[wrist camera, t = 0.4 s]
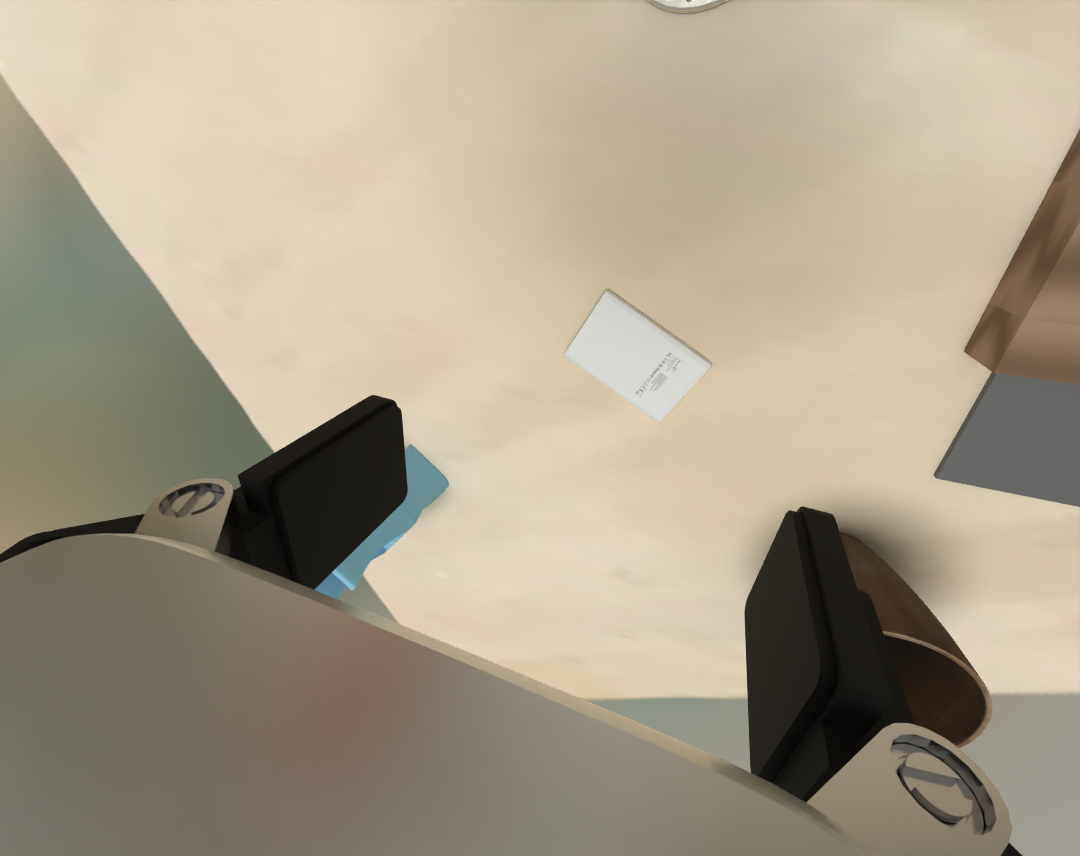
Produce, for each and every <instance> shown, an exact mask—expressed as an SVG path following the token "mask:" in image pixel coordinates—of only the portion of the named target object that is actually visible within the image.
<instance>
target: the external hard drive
mask: <svg viewBox="0 0 1080 856" xmlns="http://www.w3.org/2000/svg"><path fill="white" fill-rule="evenodd" d="M564 356H565V357H567V358H568V359H569V360H571V361H572V362H574V363H575V364H576V365H578V366H579V367H581V368H582V369H584V370H585V371H586V372H588V373H589V374H591V375H592V376H593V377H595V378H596V379H598V380H599V381H600V382H602V383H603V384H605V385H606V386H607V387H609V388H610V389H612V390H613V391H614V392H616V393H617V394H619V395H620V396H621V397H623V398H624V399H626V400H627V401H629V402H630V403H631V404H633V405H634V406H636V407H637V408H638V409H640V410H641V411H643V412H644V413H645V414H647V415H648V416H650V417H651V418H652V419H654V420H655V421H657V422H658V423H660V422H661V421H662V420H663V419H664V418H665V416H666V415H667V414H668V413H669V412H670V411H671V410H672V409H673V408H674V407H675V405H676V404H677V403H678V402H679V401H680V400H681V399H682V398H683V397H684V396H685V394H686V393H687V392H688V391H689V390H690V389H691V388H692V387H693V386H694V385H695V384H696V382H697V381H698V380H699V379H700V378H701V377H702V376H703V375H704V374H705V373H706V372H707V370H708V369H709V368H710V367H711V362H710V361H709V360H707V359H706V358H704V357H703V356H701V355H700V354H699V353H697V352H696V351H695V350H693V349H692V348H690V347H689V346H688V345H686V344H685V343H683V342H682V341H681V340H679V339H678V338H676V337H675V336H674V335H672V334H671V333H669V332H668V331H667V330H665V329H664V328H662V327H661V326H659V325H658V324H657V323H655V322H654V321H652V320H651V319H650V318H648V317H647V316H645V315H644V314H643V313H641V312H640V311H638V310H637V309H636V308H634V307H633V306H631V305H630V304H628V303H627V302H626V301H624V300H623V299H621V298H620V297H619V296H617V295H616V294H614V293H613V292H611V291H610V290H609V289H607V290H606V291H605V293H604V294H603V296H602V297H601V299H600V300H599V302H598V303H597V305H596V306H595V308H594V309H593V311H592V312H591V314H590V316H589V317H588V319H587V320H586V322H585V323H584V325H583V326H582V328H581V329H580V331H579V332H578V334H577V335H576V337H575V338H574V340H573V341H572V343H571V344H570V346H569V348H568V349H567V351H566V352H565V354H564Z"/></svg>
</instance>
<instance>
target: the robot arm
mask: <svg viewBox="0 0 1080 856" xmlns="http://www.w3.org/2000/svg"><path fill="white" fill-rule="evenodd" d="M646 1H648V2H650V3H651V4H653V5H655V6H656V7H658V8H660V9H663V10H667V11H670V12H674V13H695V12H699V11H704V10H708V9H711V8H713V7H715V6H718V5H720V4H722V3H724V2H726V1H728V0H692V1H691V2H687V1H686V0H646ZM238 478H239V481H240V484H241V487H239V488H237V489H236V490H234V489H233V487H232V486H231V484H230V483H228V482H226V481H224V480H220V479H213V478H211V479H198V480H193V481H189V482H185V483H182V484H179V485H176V486H174V487H172V488H170V489H168V490H166V491H165V492H163V493H162V494H160V495H159V496H158V497H156V498H155V499H154V501H153V502H152V503H151V504H150V506H149V508H148V510H147V511H146V513H145V514H142V515H136V516H131V517H125V518H119V519H114V520H108V521H103V522H97V523H91V524H86V525H80V526H75V527H69V528H64V529H58V530H54V531H48V532H42V533H38V534H34V535H32V536H29V537H27V538H25V539H23V540H21V541H19V542H18V543H16V544H15V545H14V546H12V547H10V548H9V549H8V550H6V551H4V552H3V553H2V554H0V856H1022V855H1021V854H1020V853H1019V852H1018V851H1017V850H1016V849H1015V848H1014V847H1013V846H1012V845H1011V844H1010V843H1009V840H1010V836H1011V832H1012V825H1011V821H1010V816H1009V811H1008V809H1007V807H1006V805H1005V803H1004V801H1003V799H1002V797H1001V795H1000V793H999V791H998V790H997V788H996V787H995V786H994V784H993V783H992V782H991V780H990V779H989V778H988V776H987V775H986V774H985V773H984V771H983V770H982V769H981V768H980V767H979V766H978V765H977V764H976V763H975V762H974V761H973V760H972V759H971V758H970V757H969V756H968V755H967V754H965V753H964V752H963V751H962V750H961V749H959V748H958V747H956V746H955V745H954V744H952V743H951V742H950V741H948V740H947V739H945V738H944V737H942V736H940V735H938V734H936V733H934V732H932V731H930V730H928V729H926V728H924V727H920V726H917V725H915V724H914V721H913V718H912V715H911V712H910V709H909V706H908V703H907V700H906V697H905V694H904V692H903V689H902V686H901V683H900V680H899V677H898V674H897V671H896V668H895V665H894V662H893V660H892V657H891V654H890V651H889V648H888V645H887V642H886V639H885V636H884V633H883V631H882V628H881V625H880V622H879V619H878V616H877V613H876V610H875V607H874V604H873V601H872V599H871V597H870V595H869V594H868V593H867V592H866V591H864V590H861V589H858V588H857V586H856V583H855V580H854V577H853V573H852V570H851V567H850V564H849V561H848V558H847V555H846V551H845V548H844V545H843V542H842V539H841V536H840V533H839V529H838V526H837V523H836V520H835V517H834V516H833V515H832V514H830V513H826V512H822V511H818V510H814V509H810V508H806V507H803V506H802V507H800V508H799V509H798V510H797V512H794V511H791V510H789V511H788V512H787V513H786V515H785V517H784V519H783V521H782V523H781V526H780V528H779V530H778V532H777V534H776V537H775V539H774V541H773V543H772V545H771V547H770V550H769V552H768V554H767V556H766V558H765V561H764V563H763V565H762V567H761V569H760V572H759V574H758V576H757V578H756V580H755V583H754V585H753V587H752V589H751V591H750V593H749V596H748V598H747V601H746V606H745V638H746V664H747V690H748V715H749V716H748V717H749V741H750V742H749V743H750V767H751V773H750V772H747V771H746V770H743V769H741V768H739V767H737V766H735V765H733V764H731V763H729V762H727V761H725V760H723V759H721V758H718V757H716V756H714V755H712V754H709V753H707V752H705V751H702V750H700V749H698V748H695V747H693V746H691V745H689V744H686V743H684V742H682V741H679V740H677V739H674V738H672V737H670V736H667V735H665V734H663V733H661V732H658V731H656V730H654V729H652V728H649V727H647V726H645V725H642V724H640V723H638V722H635V721H633V720H630V719H628V718H626V717H624V716H621V715H619V714H616V713H614V712H611V711H609V710H607V709H604V708H602V707H600V706H597V705H595V704H592V703H590V702H587V701H585V700H583V699H580V698H578V697H575V696H573V695H571V694H568V693H566V692H563V691H561V690H558V689H556V688H554V687H551V686H549V685H546V684H544V683H542V682H539V681H537V680H534V679H532V678H529V677H527V676H525V675H522V674H520V673H517V672H515V671H513V670H510V669H508V668H505V667H503V666H500V665H498V664H496V663H493V662H491V661H488V660H486V659H483V658H481V657H478V656H476V655H474V654H471V653H469V652H466V651H464V650H461V649H459V648H456V647H454V646H452V645H449V644H447V643H444V642H442V641H439V640H437V639H434V638H432V637H430V636H427V635H425V634H422V633H420V632H417V631H415V630H412V629H410V628H407V627H405V626H402V625H400V624H398V623H395V622H392V621H390V620H388V619H385V618H383V617H380V616H378V615H375V614H373V613H370V612H368V611H366V610H363V609H361V608H358V607H355V606H353V605H351V604H348V603H346V602H343V601H341V600H338V599H336V598H333V597H331V596H328V595H326V594H323V593H321V592H318V591H316V590H315V589H316V588H317V587H318V586H319V585H320V584H321V583H322V582H323V581H324V580H325V579H326V578H327V577H328V576H329V575H330V574H331V573H332V572H333V571H334V570H335V569H336V568H337V567H338V566H339V565H340V564H341V563H342V562H343V561H344V560H345V559H346V558H347V557H348V556H349V555H350V554H351V553H352V552H353V551H354V550H355V549H356V548H357V547H358V546H359V545H360V544H361V543H362V542H363V541H364V540H365V539H366V538H367V537H369V536H370V535H371V534H372V533H373V532H374V531H375V530H376V529H377V528H378V527H379V526H380V525H381V524H382V523H383V522H384V521H385V520H386V519H387V518H388V517H389V516H390V515H391V514H392V513H393V512H394V511H395V510H396V509H397V508H398V507H399V506H400V505H401V504H402V503H403V502H404V500H405V498H406V496H407V492H408V485H407V473H406V461H405V449H404V436H403V424H402V413H401V410H400V408H399V407H397V404H396V402H395V401H393V400H391V399H387V398H383V397H379V396H375V395H372V396H369V397H367V398H366V399H364V400H362V401H361V402H359V403H357V404H356V405H354V406H352V407H351V408H349V409H347V410H346V411H344V412H342V413H341V414H339V415H337V416H336V417H334V418H332V419H331V420H329V421H327V422H326V423H324V424H322V425H321V426H319V427H317V428H316V429H314V430H312V431H311V432H309V433H307V434H306V435H304V436H302V437H300V438H299V439H297V440H295V441H294V442H292V443H290V444H289V445H287V446H285V447H284V448H282V449H280V450H279V451H277V452H275V453H274V454H272V455H271V456H269V457H267V458H265V459H264V460H262V461H261V462H259V463H257V464H255V465H254V466H252V467H251V468H249V469H247V470H245V471H244V472H242V473H240V474H239V475H238Z"/></svg>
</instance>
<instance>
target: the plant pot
mask: <svg viewBox="0 0 1080 856" xmlns="http://www.w3.org/2000/svg"><path fill="white" fill-rule="evenodd" d="M840 536H841V539H842V542H843V545H844V548H845V551H846V555H847V558H848V561H849V564H850V567H851V570H852V573H853V577H854V580H855V583H856V586H857V588H858V589H861V590H864V591H866V592H867V593H868V594H869V595H870V597H871V599H872V601H873V604H874V607H875V610H876V613H877V616H878V619H879V622H880V625H881V628H882V631H883V633H884V636H885V639H886V642H887V645H888V648H889V651H890V654H891V657H892V660H893V662H894V665H895V668H896V671H897V674H898V677H899V680H900V683H901V686H902V689H903V692H904V694H905V697H906V700H907V703H908V706H909V709H910V712H911V715H912V718H913V721H914V724H915V725H917V726H920V727H924V728H926V729H928V730H930V731H932V732H934V733H936V734H938V735H940V736H942V737H944V738H945V739H947V740H948V741H950V742H951V743H952V744H954V745H955V746H956V747H958V748H961V747H963V746H965V745H967V744H969V743H970V742H972V741H973V740H975V739H976V738H977V737H978V736H979V735H980V734H982V732H983V731H984V730H985V728H986V727H987V725H988V724H989V722H990V719H991V715H992V701H991V697H990V694H989V691H988V689H987V687H986V686H985V684H984V682H983V681H982V680H981V678H980V677H979V675H978V674H977V672H976V671H975V670H974V668H973V667H972V665H971V664H970V662H969V661H968V660H967V658H966V657H965V655H964V654H963V653H962V651H961V650H960V648H959V647H958V646H957V644H956V643H955V641H954V640H953V639H952V637H951V636H950V635H949V633H948V632H947V631H946V629H945V628H944V627H943V626H942V624H941V623H940V622H939V620H938V619H937V618H936V617H935V616H934V614H933V613H932V612H931V611H930V609H929V608H928V607H927V606H926V605H925V604H924V602H923V601H922V600H921V599H920V598H919V597H918V596H917V594H916V593H915V592H914V591H913V590H912V589H911V588H910V587H909V586H908V585H907V584H906V583H905V581H904V580H903V579H902V578H901V577H900V576H899V575H898V574H897V573H896V572H895V571H894V570H893V569H892V568H891V567H890V566H888V565H887V564H886V563H885V562H884V561H883V560H882V559H881V558H880V557H879V556H878V555H876V554H875V553H874V552H873V551H872V550H870V549H869V548H868V547H867V546H865V545H864V544H863V543H862V542H860V541H859V540H857V539H855V538H853V537H851V536H849V535H845V534H841V533H840Z"/></svg>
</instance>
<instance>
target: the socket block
mask: <svg viewBox="0 0 1080 856" xmlns="http://www.w3.org/2000/svg"><path fill="white" fill-rule="evenodd" d="M964 352H966V353H967V354H968V355H970V356H971V357H972V358H974V359H975V360H977V361H978V362H979V363H981V364H982V365H984V366H985V367H986V368H988V369H989V370H990V371H992V372H993V373H999V374H1006V375H1013V376H1020V377H1028V378H1035V379H1042V380H1049V381H1056V382H1063V383H1071V384H1078V385H1080V131H1079V133H1078V135H1077V137H1076V139H1075V140H1074V142H1073V144H1072V146H1071V148H1070V150H1069V152H1068V154H1067V156H1066V158H1065V159H1064V161H1063V163H1062V165H1061V167H1060V169H1059V171H1058V173H1057V175H1056V177H1055V179H1054V180H1053V182H1052V184H1051V186H1050V188H1049V190H1048V192H1047V194H1046V196H1045V198H1044V200H1043V201H1042V203H1041V205H1040V207H1039V209H1038V211H1037V213H1036V215H1035V217H1034V219H1033V220H1032V222H1031V224H1030V226H1029V228H1028V230H1027V232H1026V234H1025V236H1024V238H1023V240H1022V241H1021V243H1020V245H1019V247H1018V249H1017V251H1016V253H1015V255H1014V257H1013V259H1012V261H1011V262H1010V264H1009V266H1008V268H1007V270H1006V272H1005V274H1004V276H1003V278H1002V280H1001V281H1000V283H999V285H998V287H997V289H996V291H995V293H994V295H993V297H992V299H991V301H990V302H989V304H988V306H987V308H986V310H985V312H984V314H983V316H982V318H981V320H980V321H979V323H978V325H977V327H976V329H975V331H974V333H973V335H972V337H971V339H970V341H969V342H968V344H967V346H966V348H965V350H964Z"/></svg>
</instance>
